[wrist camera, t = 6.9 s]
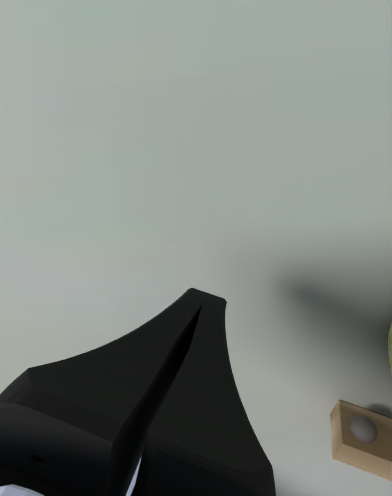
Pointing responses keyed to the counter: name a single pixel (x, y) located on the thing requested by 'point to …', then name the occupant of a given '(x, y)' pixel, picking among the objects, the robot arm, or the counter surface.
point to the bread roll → (390, 347)
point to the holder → (362, 439)
